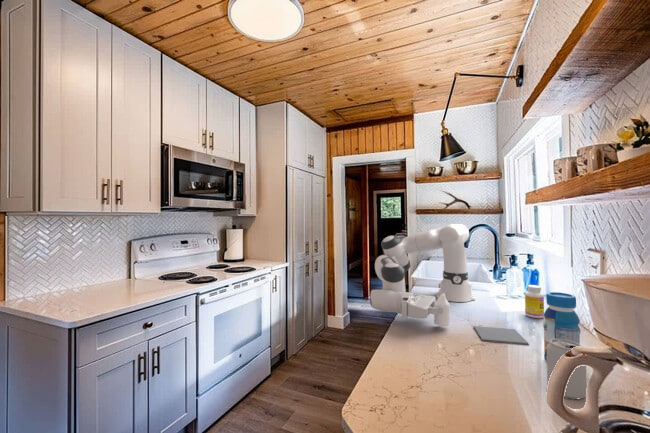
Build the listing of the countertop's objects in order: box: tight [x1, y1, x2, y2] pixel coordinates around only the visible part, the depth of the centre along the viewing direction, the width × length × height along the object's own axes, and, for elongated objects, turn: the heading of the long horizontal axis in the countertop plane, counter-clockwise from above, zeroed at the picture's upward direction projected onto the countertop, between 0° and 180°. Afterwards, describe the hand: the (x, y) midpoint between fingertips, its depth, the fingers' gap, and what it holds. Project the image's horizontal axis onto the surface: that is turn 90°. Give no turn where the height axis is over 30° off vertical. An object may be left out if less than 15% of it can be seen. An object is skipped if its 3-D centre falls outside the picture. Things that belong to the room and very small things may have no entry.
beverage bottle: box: [542, 291, 581, 363], centre depth 87 cm, size 8×8×20 cm
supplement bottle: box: [524, 284, 545, 319], centre depth 129 cm, size 7×7×13 cm
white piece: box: [433, 293, 451, 327], centre depth 116 cm, size 6×12×6 cm
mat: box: [473, 325, 530, 346], centre depth 108 cm, size 13×14×1 cm
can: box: [546, 339, 587, 400], centre depth 73 cm, size 8×8×12 cm
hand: (444, 308), depth 115 cm, fingers closed on white piece, 6 cm apart
